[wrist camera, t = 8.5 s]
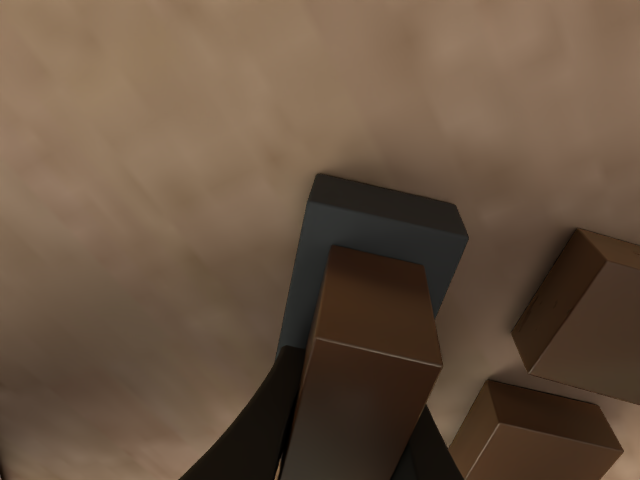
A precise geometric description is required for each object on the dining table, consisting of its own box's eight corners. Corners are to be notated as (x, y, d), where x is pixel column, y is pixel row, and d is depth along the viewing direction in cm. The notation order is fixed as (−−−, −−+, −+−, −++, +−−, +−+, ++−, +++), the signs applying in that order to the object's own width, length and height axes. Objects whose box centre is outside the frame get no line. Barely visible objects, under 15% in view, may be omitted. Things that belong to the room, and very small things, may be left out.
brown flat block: (510, 333, 14) (527, 374, 13) (576, 227, 12) (606, 260, 11) (627, 366, 14) (658, 411, 13) (711, 266, 12) (761, 305, 11)
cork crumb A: (447, 450, 17) (454, 496, 15) (486, 378, 15) (499, 422, 14) (547, 474, 17) (564, 521, 15) (599, 405, 15) (625, 451, 14)
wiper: (267, 410, 17) (225, 571, 12) (316, 172, 12) (279, 281, 7) (367, 433, 17) (365, 603, 12) (456, 204, 12) (510, 334, 7)
